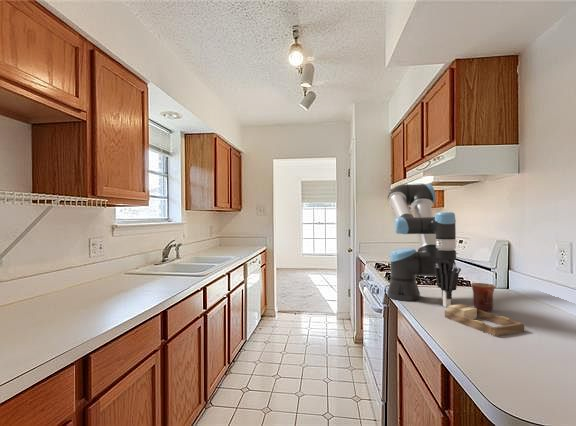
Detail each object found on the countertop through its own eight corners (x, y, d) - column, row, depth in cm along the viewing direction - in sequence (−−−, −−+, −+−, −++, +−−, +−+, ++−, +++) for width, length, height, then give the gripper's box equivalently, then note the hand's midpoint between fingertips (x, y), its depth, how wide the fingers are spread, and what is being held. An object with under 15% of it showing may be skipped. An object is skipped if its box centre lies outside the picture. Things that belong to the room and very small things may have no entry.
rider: (448, 316, 126) (448, 305, 126) (460, 313, 129) (460, 303, 129) (464, 321, 120) (464, 310, 120) (476, 318, 122) (476, 307, 123)
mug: (468, 306, 138) (467, 282, 138) (490, 306, 137) (489, 283, 137) (478, 314, 127) (478, 288, 127) (503, 315, 125) (502, 289, 125)
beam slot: (444, 317, 124) (444, 309, 124) (471, 313, 128) (471, 306, 128) (494, 336, 104) (494, 327, 104) (524, 331, 108) (524, 323, 108)
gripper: (427, 248, 137) (428, 303, 136) (450, 251, 124) (452, 311, 124) (441, 247, 139) (442, 301, 139) (465, 250, 127) (467, 309, 126)
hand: (447, 306), depth 131 cm, fingers closed
